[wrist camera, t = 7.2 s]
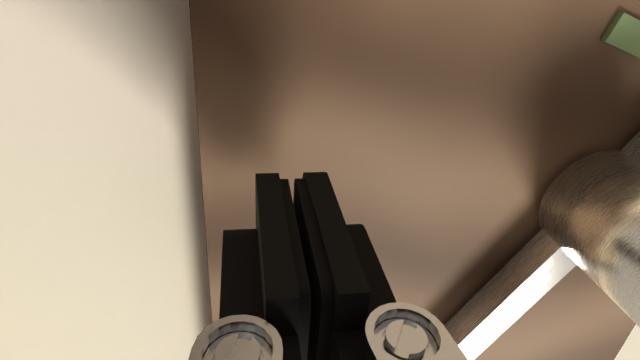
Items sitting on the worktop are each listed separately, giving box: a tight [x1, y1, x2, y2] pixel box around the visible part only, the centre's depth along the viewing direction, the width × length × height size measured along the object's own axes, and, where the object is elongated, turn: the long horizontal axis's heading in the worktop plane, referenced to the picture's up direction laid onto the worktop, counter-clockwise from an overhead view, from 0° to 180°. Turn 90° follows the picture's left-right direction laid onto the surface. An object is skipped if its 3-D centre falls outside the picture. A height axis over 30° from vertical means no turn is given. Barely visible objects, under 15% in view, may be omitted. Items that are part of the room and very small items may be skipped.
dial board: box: [189, 0, 640, 360], centre depth 16 cm, size 19×18×1 cm
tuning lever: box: [445, 132, 640, 360], centre depth 14 cm, size 14×4×4 cm, turn 146°
